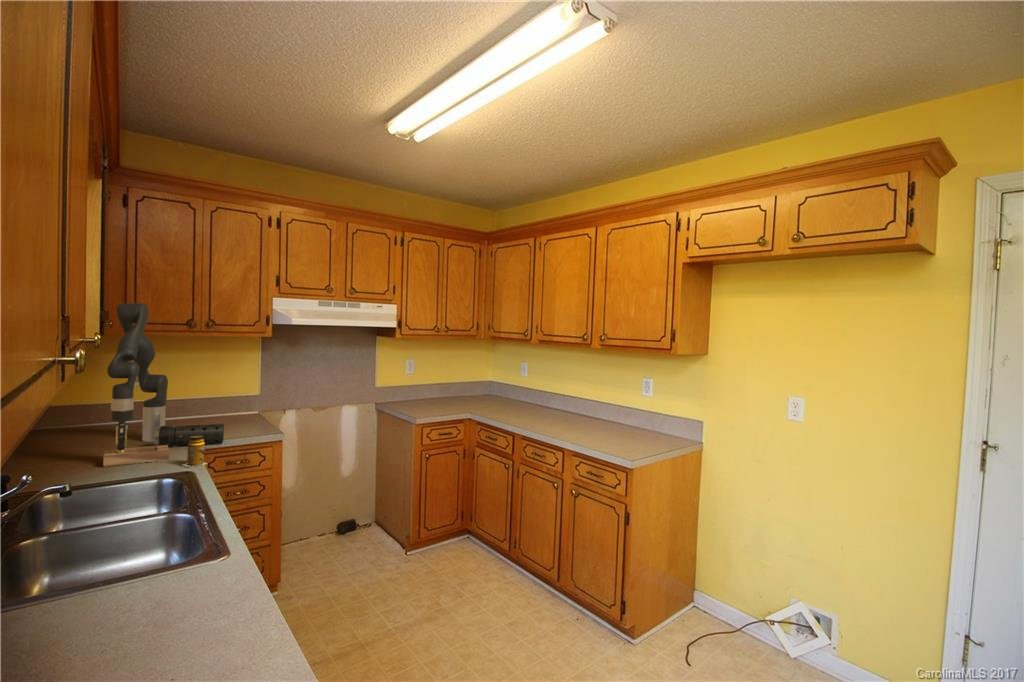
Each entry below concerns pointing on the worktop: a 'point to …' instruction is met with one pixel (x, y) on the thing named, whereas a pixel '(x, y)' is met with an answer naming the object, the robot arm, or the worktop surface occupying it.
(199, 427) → the muzzle brake
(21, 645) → the worktop surface
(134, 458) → the keyhole board
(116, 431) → the brass peg
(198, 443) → the condiment
